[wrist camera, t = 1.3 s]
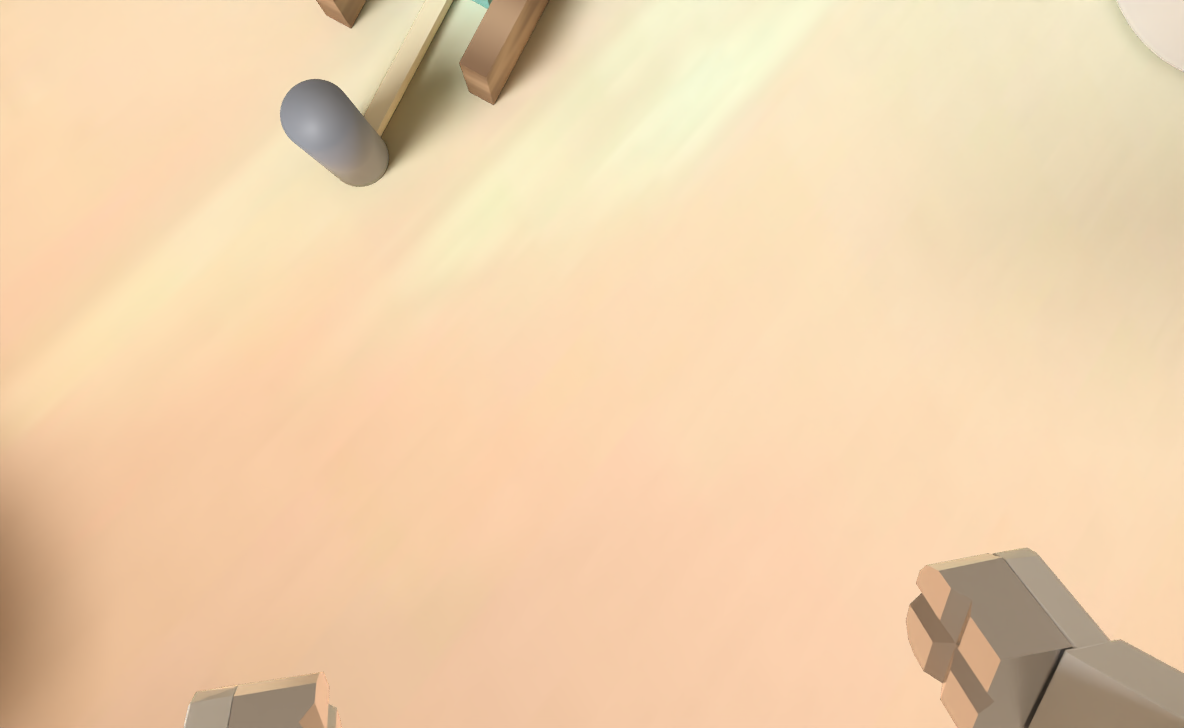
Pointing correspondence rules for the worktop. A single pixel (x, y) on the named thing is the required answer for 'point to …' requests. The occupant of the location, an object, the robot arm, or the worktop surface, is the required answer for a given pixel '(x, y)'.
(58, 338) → the worktop surface
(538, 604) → the worktop surface
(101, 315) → the worktop surface
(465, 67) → the tray
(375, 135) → the block
